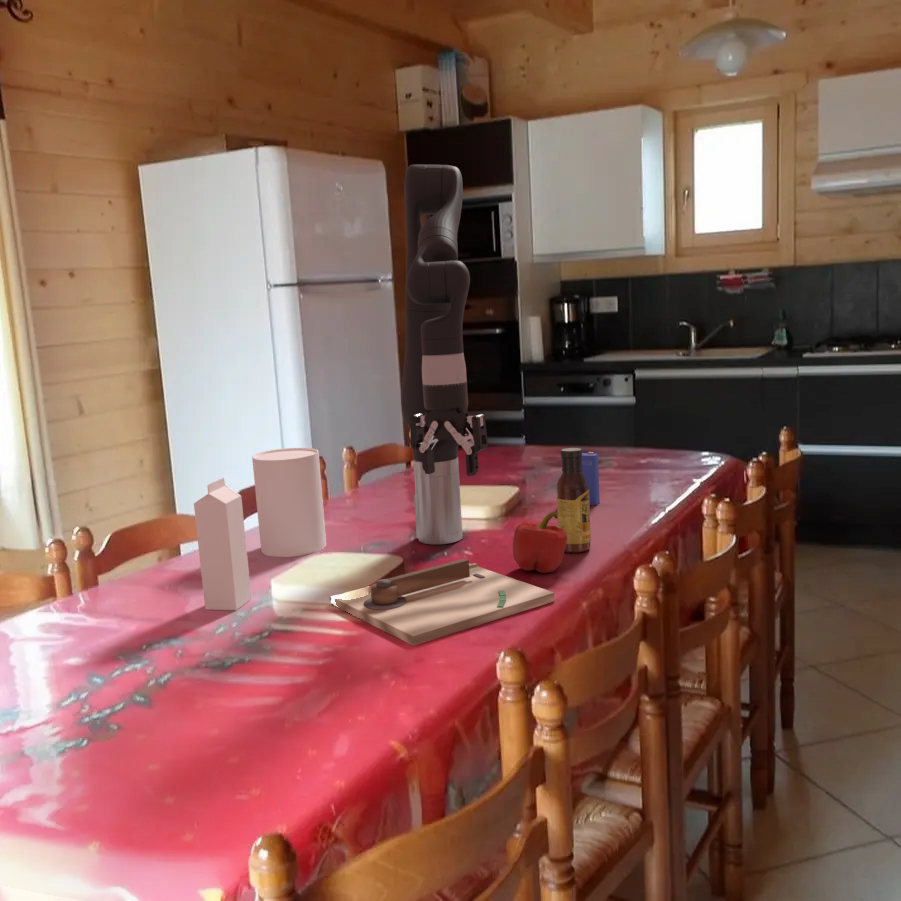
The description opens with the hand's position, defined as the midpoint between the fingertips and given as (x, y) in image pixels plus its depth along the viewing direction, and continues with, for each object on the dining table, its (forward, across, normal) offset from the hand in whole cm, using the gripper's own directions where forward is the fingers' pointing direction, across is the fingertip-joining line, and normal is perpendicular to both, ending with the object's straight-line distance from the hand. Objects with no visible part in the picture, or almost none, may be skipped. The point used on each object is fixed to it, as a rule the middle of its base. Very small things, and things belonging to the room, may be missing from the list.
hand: (450, 474), depth 168 cm
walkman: (+20, +5, -64) cm, 67 cm away
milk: (+20, +33, +23) cm, 45 cm away
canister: (+20, +46, -10) cm, 51 cm away
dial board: (+20, -1, +8) cm, 22 cm away
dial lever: (+18, +2, +7) cm, 20 cm away
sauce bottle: (+20, -9, -29) cm, 37 cm away
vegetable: (+20, -9, -15) cm, 27 cm away
